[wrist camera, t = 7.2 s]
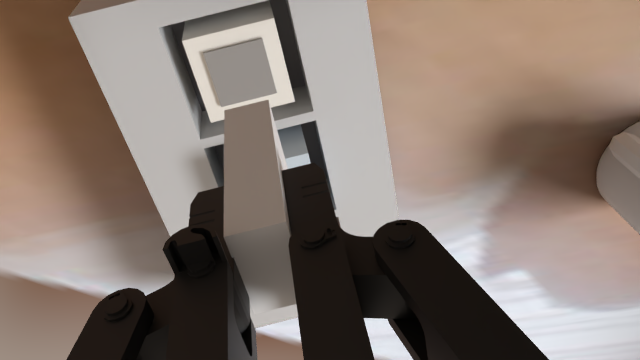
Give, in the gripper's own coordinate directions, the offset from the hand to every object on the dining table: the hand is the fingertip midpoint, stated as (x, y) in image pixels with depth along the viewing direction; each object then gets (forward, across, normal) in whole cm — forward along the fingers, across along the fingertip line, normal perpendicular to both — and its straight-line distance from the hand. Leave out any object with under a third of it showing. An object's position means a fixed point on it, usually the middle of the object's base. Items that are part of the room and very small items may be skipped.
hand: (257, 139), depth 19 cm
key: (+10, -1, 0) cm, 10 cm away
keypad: (+12, -1, -6) cm, 13 cm away
